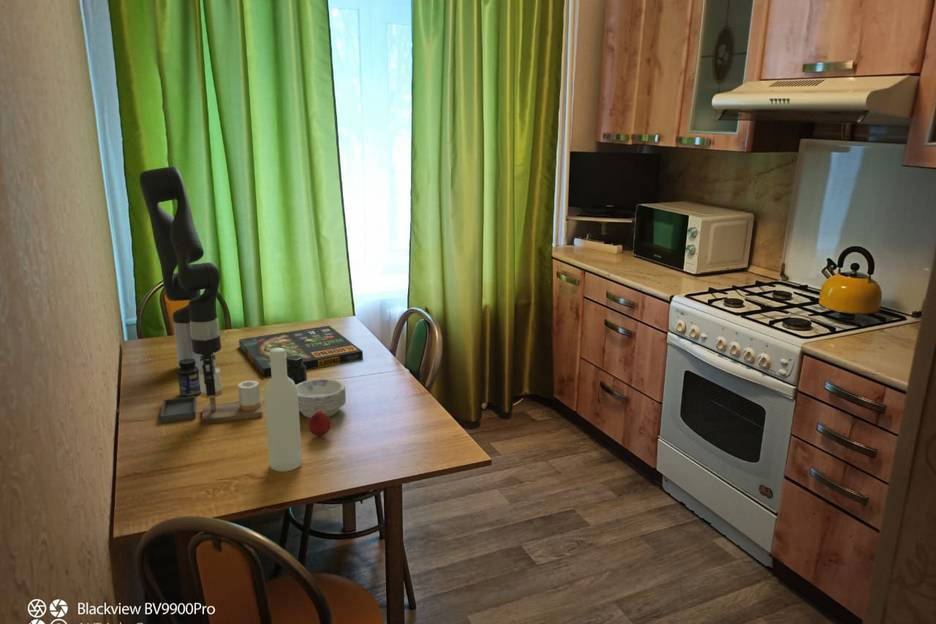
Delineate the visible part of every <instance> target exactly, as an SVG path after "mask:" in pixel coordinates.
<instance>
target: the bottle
mask: <svg viewBox="0 0 936 624" xmlns="http://www.w3.org/2000/svg"><path fill="white" fill-rule="evenodd" d="M286 356H287V355H286V350H285V349H283V348H274V349H272V350H270V356H269V358H270V362H271V375H272V376H271V378H270V379H269V380H268V381H267V382H266V384H265V387H264V391H263V398H264V400H263V402H264V409H265V411H264V413H265V424H266V435H267V447H268V462H269V467H270V469H271V470H273V471H275V472H281V473H282V472H291V471H293V470H296V469H297V468H299V467H300V466H301V465H302V464H303V450H302V441H301V425H300V411H299V408H298V393H297V387H296V385H295V383H294V381H293V380H292V379H290V378H289V377H288V376H287V364H286Z"/></svg>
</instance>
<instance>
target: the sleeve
mask: <svg viewBox="0 0 936 624" xmlns="http://www.w3.org/2000/svg"><path fill="white" fill-rule="evenodd" d="M215 371H216V373H215V374H214V380H215V383H214V384H215V395H213V396H208V395H207V390H206V384H205V383H204V375H203V374H202V370H200V371H199V381H200V390H201V393H200V396H201V398H205V399H210V398H214V397H215V398H218V397H220V396H222V395H223V390H222V389H223V388H222V387H223V386H222V381H221V380H222V379H221V369H220V367H219V368H218V367H216V368H215ZM207 379H212V377H211V376H210V377H207Z"/></svg>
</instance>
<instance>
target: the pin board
mask: <svg viewBox="0 0 936 624" xmlns="http://www.w3.org/2000/svg"><path fill="white" fill-rule="evenodd" d="M209 401H210V402H209V403H210V404H208V405H207V404H206V405H203V406H202V415H201V416H202V417H201V420H202V421H201V422H202V425H203V426H204V425H212V424H220V423H227V422H234V421H240V420H242V421H243V420H249V419H257V418H263V410H262V405H261V406H260V407H259V408H258V409H255V410H250V411H244V410H242V409H240V405H239V400H238V401H231V402H230V401H229V402H222V403H216V397H214V398H209Z"/></svg>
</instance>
